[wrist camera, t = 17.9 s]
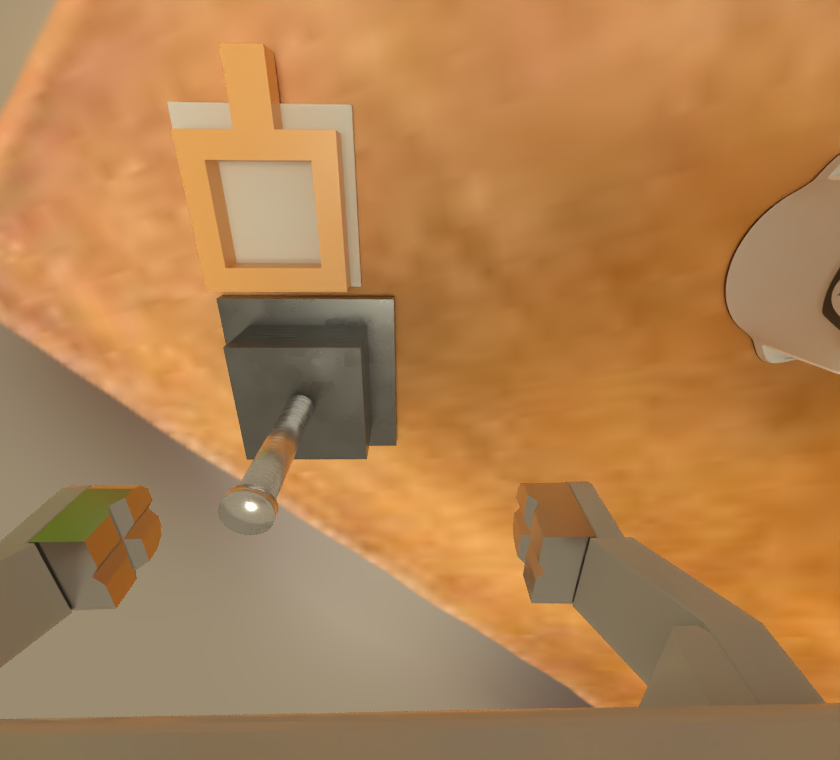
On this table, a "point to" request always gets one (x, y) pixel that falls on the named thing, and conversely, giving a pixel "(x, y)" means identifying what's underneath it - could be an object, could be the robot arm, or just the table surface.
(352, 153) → the mat
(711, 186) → the table surface
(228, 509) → the stand
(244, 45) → the orange handled frame
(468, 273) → the table surface
